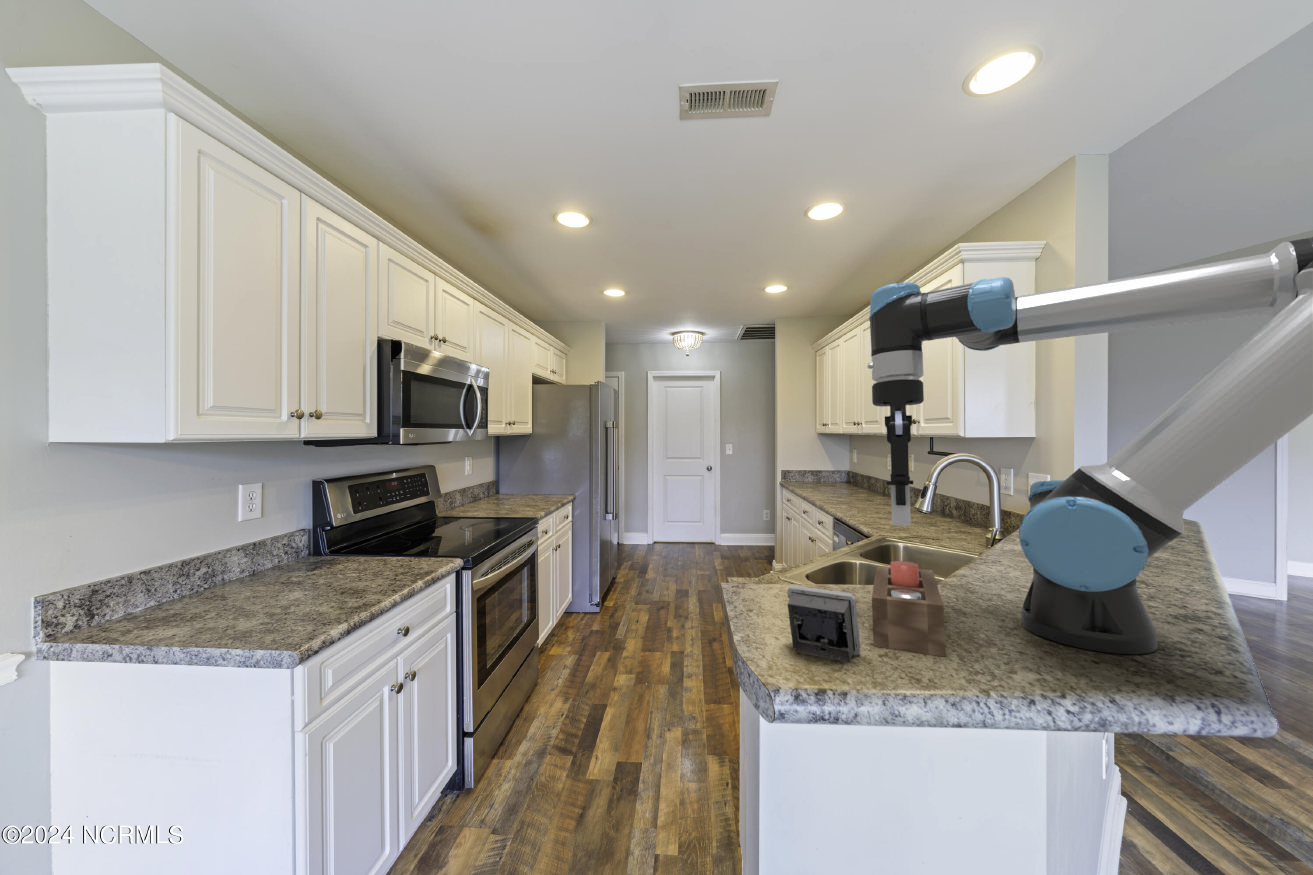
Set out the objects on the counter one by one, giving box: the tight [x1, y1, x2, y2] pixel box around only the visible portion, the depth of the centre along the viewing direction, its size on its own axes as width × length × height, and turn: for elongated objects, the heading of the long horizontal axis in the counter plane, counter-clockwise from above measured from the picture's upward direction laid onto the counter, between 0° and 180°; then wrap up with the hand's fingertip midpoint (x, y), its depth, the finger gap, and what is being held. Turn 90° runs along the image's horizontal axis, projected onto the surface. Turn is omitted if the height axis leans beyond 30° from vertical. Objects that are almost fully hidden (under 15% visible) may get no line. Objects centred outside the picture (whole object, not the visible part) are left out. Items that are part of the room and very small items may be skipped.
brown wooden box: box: [871, 565, 946, 658], centre depth 76 cm, size 9×21×7 cm, turn 153°
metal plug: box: [891, 589, 921, 600], centre depth 70 cm, size 4×4×6 cm
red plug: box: [890, 560, 920, 588], centre depth 76 cm, size 4×4×6 cm
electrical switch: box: [786, 584, 861, 664], centre depth 66 cm, size 9×5×9 cm, turn 57°
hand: (901, 524), depth 76 cm, fingers closed
